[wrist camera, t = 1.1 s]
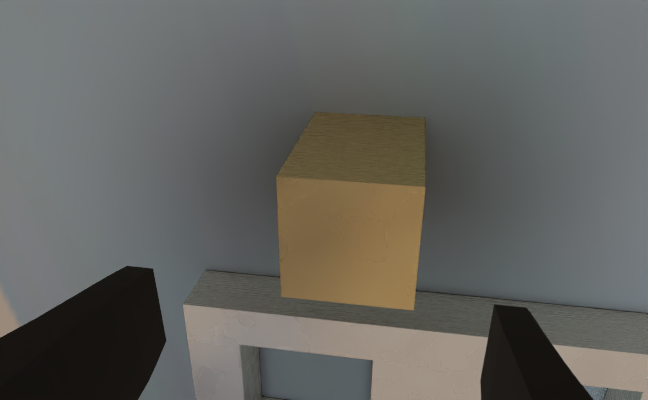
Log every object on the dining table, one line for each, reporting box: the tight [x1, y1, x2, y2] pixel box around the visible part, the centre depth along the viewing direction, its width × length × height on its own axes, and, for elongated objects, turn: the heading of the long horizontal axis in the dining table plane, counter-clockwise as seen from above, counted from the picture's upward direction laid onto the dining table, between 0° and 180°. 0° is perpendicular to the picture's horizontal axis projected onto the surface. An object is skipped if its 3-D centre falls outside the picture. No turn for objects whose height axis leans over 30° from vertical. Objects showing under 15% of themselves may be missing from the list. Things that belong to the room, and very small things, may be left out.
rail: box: [183, 270, 648, 400], centre depth 23 cm, size 9×20×2 cm, turn 90°
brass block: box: [276, 112, 426, 310], centre depth 18 cm, size 4×4×6 cm
